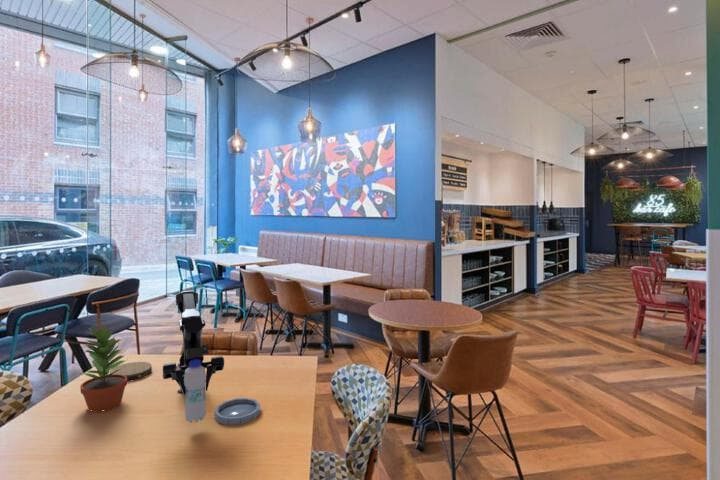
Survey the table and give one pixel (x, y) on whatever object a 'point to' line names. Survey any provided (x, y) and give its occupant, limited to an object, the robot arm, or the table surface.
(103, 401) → the potted plant
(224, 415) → the bowl
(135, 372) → the wood slice
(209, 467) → the table surface
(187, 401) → the bottle
